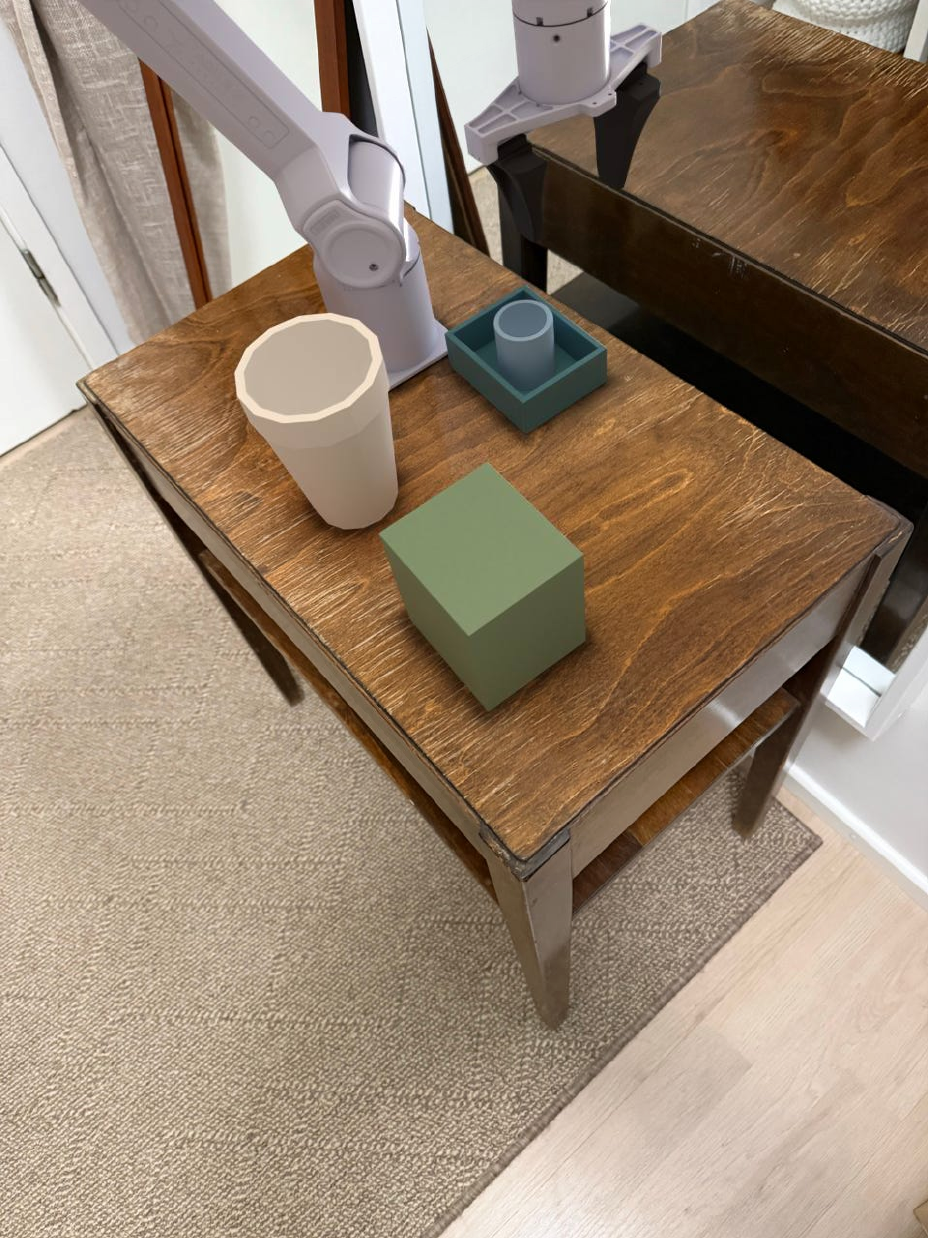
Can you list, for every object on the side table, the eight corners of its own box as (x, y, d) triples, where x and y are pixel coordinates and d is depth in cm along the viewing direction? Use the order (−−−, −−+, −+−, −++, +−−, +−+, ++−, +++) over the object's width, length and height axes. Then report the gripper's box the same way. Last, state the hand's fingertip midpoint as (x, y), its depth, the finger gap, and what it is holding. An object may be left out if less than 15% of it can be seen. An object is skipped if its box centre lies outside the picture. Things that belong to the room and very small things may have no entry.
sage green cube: (409, 618, 60) (377, 533, 51) (502, 554, 61) (486, 461, 53) (488, 712, 56) (468, 636, 47) (586, 640, 57) (584, 554, 49)
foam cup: (354, 429, 69) (307, 294, 58) (443, 479, 66) (412, 346, 54) (270, 510, 66) (204, 384, 55) (359, 568, 62) (307, 446, 51)
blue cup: (488, 369, 70) (481, 318, 66) (532, 341, 71) (527, 290, 67) (522, 399, 68) (517, 349, 64) (566, 370, 69) (564, 319, 65)
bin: (450, 366, 71) (443, 333, 68) (527, 317, 73) (524, 283, 70) (526, 434, 67) (522, 403, 64) (607, 381, 68) (607, 348, 65)
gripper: (504, 81, 48) (526, 285, 60) (701, -33, 51) (686, 183, 63) (431, 37, 52) (465, 238, 63) (620, -67, 54) (620, 144, 66)
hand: (571, 208), depth 63 cm, fingers open, 7 cm apart
